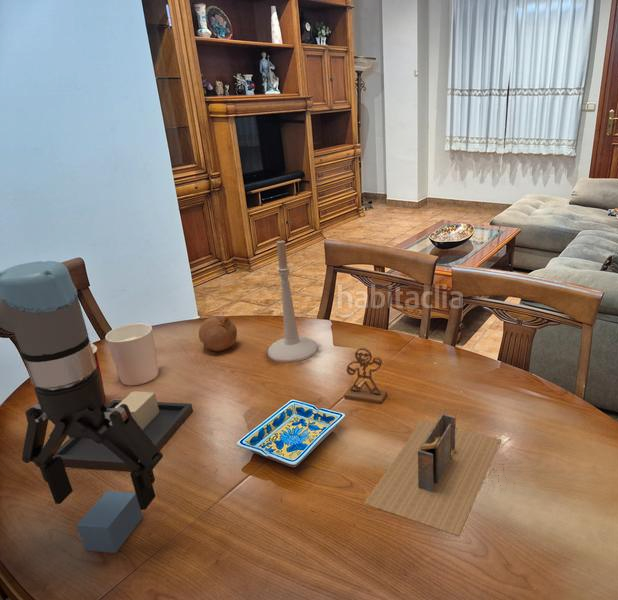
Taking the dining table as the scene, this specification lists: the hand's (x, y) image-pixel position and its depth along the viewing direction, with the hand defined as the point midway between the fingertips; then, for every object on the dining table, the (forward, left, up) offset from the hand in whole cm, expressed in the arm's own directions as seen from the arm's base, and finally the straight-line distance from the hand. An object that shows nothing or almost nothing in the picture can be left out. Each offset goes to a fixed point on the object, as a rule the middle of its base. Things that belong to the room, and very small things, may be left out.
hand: (105, 500), depth 76 cm
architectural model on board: (+49, +19, -7) cm, 53 cm away
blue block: (0, 0, -7) cm, 7 cm away
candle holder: (-24, +45, -7) cm, 52 cm away
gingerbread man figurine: (+32, +41, -7) cm, 52 cm away
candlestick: (+9, +61, -7) cm, 62 cm away
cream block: (-13, +27, -6) cm, 31 cm away
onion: (-11, +61, -7) cm, 62 cm away
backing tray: (-13, +23, -7) cm, 27 cm away
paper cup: (-28, +33, -7) cm, 44 cm away
